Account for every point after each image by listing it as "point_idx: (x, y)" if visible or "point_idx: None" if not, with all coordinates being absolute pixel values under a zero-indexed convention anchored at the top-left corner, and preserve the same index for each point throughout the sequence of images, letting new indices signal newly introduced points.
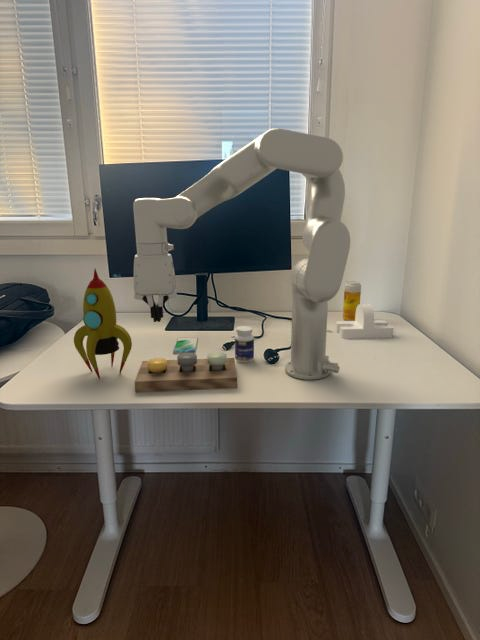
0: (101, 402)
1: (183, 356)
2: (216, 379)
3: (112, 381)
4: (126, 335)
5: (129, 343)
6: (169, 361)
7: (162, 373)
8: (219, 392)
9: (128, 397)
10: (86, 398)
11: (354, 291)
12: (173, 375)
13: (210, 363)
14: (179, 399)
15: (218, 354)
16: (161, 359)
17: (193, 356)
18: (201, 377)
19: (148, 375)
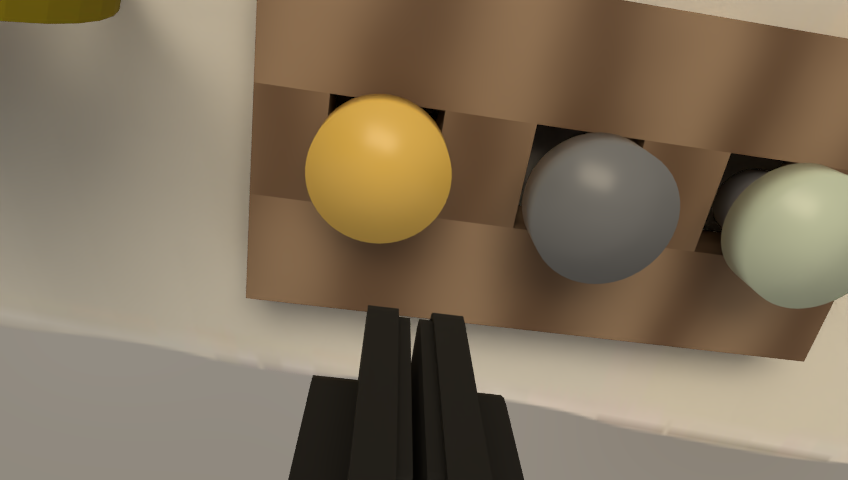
0: (106, 333)
1: (580, 214)
2: (694, 346)
3: (90, 86)
4: (8, 19)
5: (91, 21)
6: (475, 8)
7: None
8: (670, 347)
9: (232, 310)
10: (10, 279)
11: None
12: (474, 265)
13: (731, 266)
14: (475, 374)
15: (836, 231)
16: (413, 139)
17: (650, 231)
18: (624, 322)
19: (322, 232)
